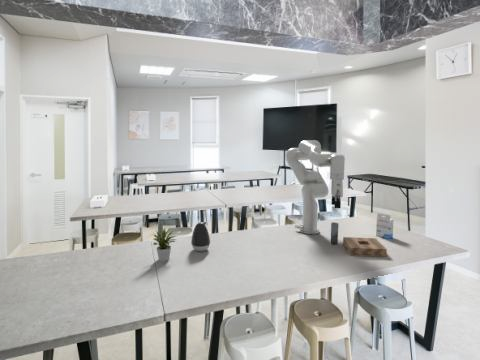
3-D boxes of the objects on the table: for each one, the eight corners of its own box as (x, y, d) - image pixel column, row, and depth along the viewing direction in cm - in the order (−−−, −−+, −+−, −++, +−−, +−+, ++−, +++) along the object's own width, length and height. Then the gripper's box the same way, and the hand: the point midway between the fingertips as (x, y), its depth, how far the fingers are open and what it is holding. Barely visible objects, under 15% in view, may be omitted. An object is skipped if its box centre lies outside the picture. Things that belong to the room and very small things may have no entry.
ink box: (393, 237, 191) (394, 214, 189) (389, 239, 188) (390, 215, 186) (379, 234, 197) (380, 211, 196) (375, 235, 194) (376, 212, 192)
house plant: (162, 268, 145) (161, 234, 143) (142, 262, 152) (140, 229, 150) (183, 258, 157) (182, 227, 155) (163, 253, 164) (162, 223, 162)
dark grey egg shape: (213, 248, 172) (213, 221, 170) (203, 254, 163) (203, 226, 161) (198, 245, 176) (197, 219, 175) (187, 251, 167) (187, 223, 165)
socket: (349, 255, 162) (350, 247, 161) (343, 243, 179) (343, 237, 179) (386, 256, 159) (386, 249, 159) (375, 245, 177) (376, 238, 177)
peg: (331, 244, 178) (331, 224, 177) (330, 242, 182) (330, 222, 181) (338, 244, 178) (339, 224, 176) (337, 242, 182) (337, 222, 180)
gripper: (347, 178, 166) (345, 209, 168) (340, 175, 183) (339, 203, 185) (332, 178, 167) (331, 209, 169) (327, 174, 184) (326, 203, 186)
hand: (335, 206), depth 177 cm, fingers open, 9 cm apart
